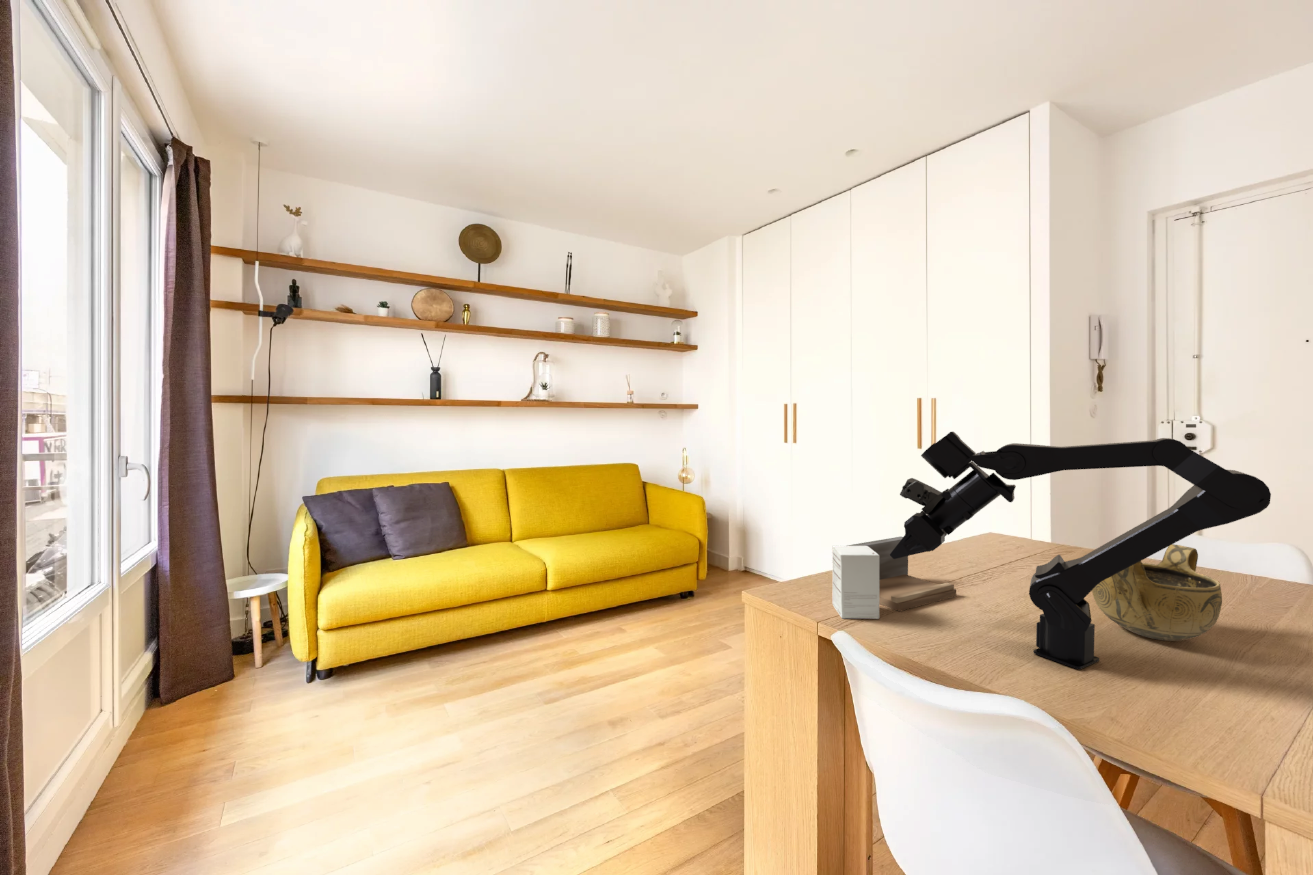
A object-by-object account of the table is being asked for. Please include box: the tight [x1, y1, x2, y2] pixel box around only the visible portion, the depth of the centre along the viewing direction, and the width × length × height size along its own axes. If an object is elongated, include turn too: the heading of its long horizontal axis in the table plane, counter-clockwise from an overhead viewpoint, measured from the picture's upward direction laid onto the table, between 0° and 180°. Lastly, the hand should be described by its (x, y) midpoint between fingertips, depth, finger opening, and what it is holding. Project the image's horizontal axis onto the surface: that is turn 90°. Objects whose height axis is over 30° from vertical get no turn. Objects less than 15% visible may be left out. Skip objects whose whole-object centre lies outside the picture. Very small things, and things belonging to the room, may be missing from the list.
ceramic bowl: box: [1091, 543, 1223, 642], centre depth 93 cm, size 22×17×15 cm
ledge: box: [846, 536, 957, 612], centre depth 115 cm, size 14×20×10 cm
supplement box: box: [831, 545, 880, 620], centre depth 104 cm, size 7×7×13 cm
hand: (898, 551), depth 99 cm, fingers open, 9 cm apart
